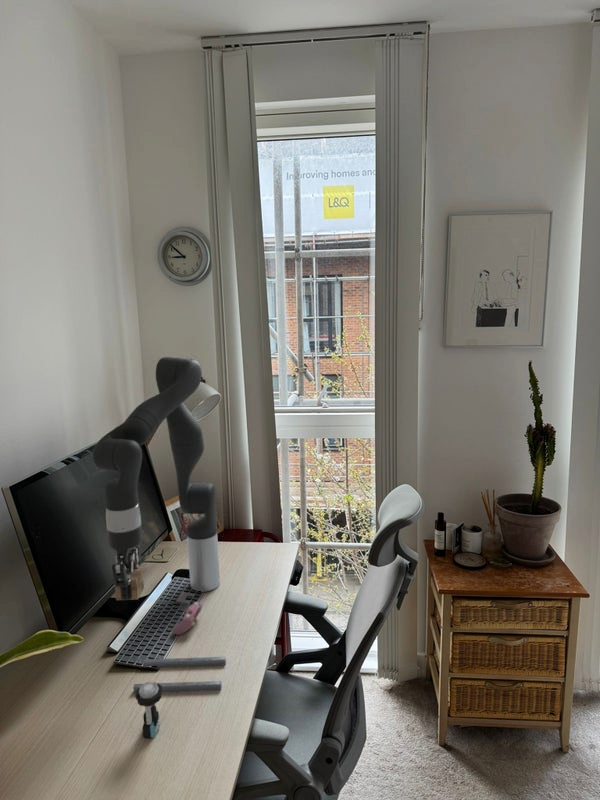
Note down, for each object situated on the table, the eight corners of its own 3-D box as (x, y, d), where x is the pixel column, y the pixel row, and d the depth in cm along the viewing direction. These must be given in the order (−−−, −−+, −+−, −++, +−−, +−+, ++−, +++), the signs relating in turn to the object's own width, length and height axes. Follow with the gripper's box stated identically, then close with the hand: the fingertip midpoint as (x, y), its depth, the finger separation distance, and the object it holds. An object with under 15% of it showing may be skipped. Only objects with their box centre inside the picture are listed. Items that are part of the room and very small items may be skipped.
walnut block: (122, 588, 127) (121, 569, 126) (143, 587, 127) (142, 568, 126) (116, 600, 122) (114, 580, 121) (138, 599, 122) (136, 579, 121)
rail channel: (145, 664, 131) (144, 659, 131) (226, 662, 132) (225, 656, 131) (133, 692, 122) (133, 687, 122) (221, 689, 122) (220, 684, 122)
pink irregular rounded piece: (185, 642, 142) (194, 621, 141) (170, 633, 143) (179, 613, 141) (198, 620, 152) (207, 601, 150) (184, 612, 152) (193, 593, 151)
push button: (144, 715, 115) (140, 674, 113) (169, 714, 115) (165, 673, 114) (135, 740, 109) (131, 697, 107) (162, 739, 109) (158, 696, 107)
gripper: (131, 537, 115) (137, 609, 118) (148, 511, 129) (154, 576, 132) (96, 538, 115) (103, 610, 118) (117, 512, 129) (123, 577, 132)
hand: (130, 591), depth 125 cm, fingers closed on walnut block, 5 cm apart
